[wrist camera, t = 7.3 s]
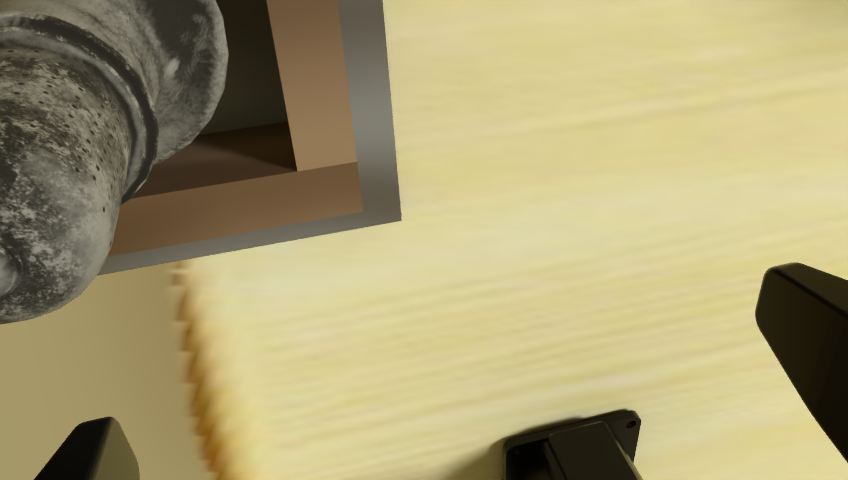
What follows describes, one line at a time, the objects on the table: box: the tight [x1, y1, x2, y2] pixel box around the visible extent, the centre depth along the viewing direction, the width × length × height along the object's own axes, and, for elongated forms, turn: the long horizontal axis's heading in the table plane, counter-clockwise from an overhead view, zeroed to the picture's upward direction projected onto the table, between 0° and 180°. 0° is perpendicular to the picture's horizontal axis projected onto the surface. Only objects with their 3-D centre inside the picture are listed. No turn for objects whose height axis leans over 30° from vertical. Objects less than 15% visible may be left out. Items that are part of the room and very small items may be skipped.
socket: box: [97, 0, 402, 275], centre depth 16 cm, size 16×14×4 cm
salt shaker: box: [0, 0, 229, 324], centre depth 12 cm, size 6×6×12 cm
